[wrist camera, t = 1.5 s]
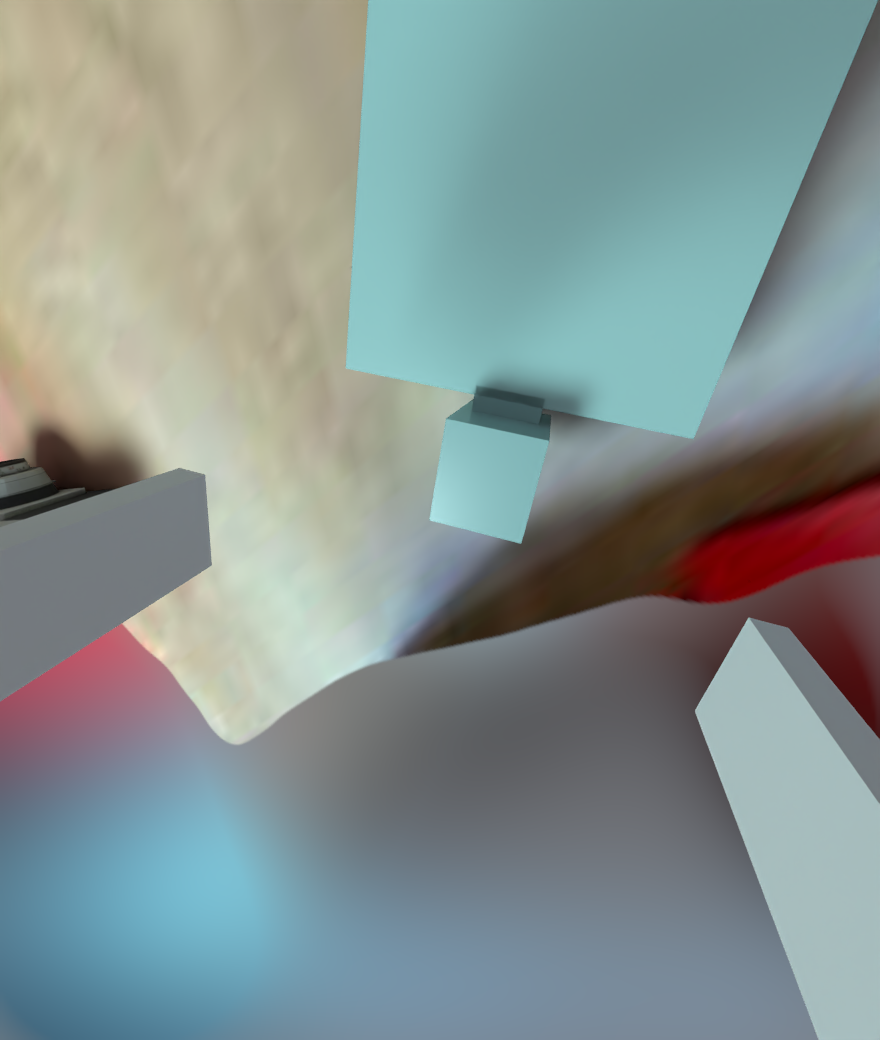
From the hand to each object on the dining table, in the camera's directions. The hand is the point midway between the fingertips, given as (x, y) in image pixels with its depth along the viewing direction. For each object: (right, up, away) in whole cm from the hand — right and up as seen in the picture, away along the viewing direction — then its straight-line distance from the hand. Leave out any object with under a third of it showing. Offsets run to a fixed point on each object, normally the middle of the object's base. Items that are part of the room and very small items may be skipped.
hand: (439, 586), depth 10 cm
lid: (+5, +14, +8) cm, 17 cm away
